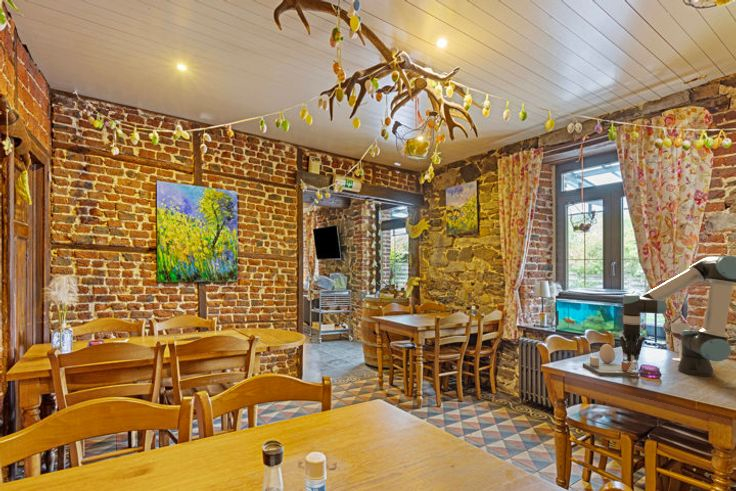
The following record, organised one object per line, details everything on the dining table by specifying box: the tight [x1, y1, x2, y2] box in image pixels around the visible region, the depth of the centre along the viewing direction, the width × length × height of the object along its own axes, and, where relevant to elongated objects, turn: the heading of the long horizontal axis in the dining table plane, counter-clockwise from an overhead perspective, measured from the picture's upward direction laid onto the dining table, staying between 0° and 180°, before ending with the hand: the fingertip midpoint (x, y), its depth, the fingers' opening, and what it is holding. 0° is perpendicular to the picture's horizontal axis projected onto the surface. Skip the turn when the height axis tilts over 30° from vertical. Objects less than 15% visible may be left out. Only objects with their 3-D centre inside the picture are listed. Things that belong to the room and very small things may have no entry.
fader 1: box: [589, 356, 600, 366], centre depth 222 cm, size 3×4×4 cm
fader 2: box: [620, 360, 631, 371], centre depth 212 cm, size 3×4×4 cm
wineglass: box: [670, 322, 690, 362], centre depth 244 cm, size 9×10×22 cm
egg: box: [598, 343, 616, 364], centre depth 234 cm, size 8×8×11 cm
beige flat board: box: [582, 362, 638, 378], centre depth 217 cm, size 20×18×2 cm
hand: (631, 367), depth 212 cm, fingers closed
